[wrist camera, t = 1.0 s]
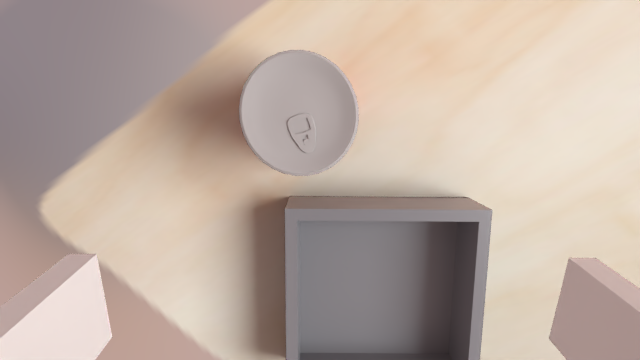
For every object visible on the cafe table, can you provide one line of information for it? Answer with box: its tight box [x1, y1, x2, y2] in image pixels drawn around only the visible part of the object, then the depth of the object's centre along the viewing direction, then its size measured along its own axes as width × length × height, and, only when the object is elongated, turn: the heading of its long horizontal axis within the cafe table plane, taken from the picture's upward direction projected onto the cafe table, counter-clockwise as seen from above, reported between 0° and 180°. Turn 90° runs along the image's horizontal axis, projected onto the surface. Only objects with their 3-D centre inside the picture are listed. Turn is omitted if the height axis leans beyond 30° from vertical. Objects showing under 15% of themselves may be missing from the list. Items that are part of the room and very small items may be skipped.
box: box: [285, 196, 492, 360], centre depth 34 cm, size 17×17×5 cm
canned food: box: [239, 50, 359, 176], centre depth 29 cm, size 8×8×11 cm
